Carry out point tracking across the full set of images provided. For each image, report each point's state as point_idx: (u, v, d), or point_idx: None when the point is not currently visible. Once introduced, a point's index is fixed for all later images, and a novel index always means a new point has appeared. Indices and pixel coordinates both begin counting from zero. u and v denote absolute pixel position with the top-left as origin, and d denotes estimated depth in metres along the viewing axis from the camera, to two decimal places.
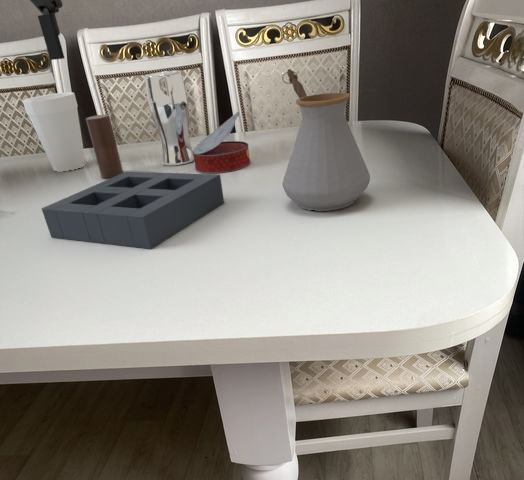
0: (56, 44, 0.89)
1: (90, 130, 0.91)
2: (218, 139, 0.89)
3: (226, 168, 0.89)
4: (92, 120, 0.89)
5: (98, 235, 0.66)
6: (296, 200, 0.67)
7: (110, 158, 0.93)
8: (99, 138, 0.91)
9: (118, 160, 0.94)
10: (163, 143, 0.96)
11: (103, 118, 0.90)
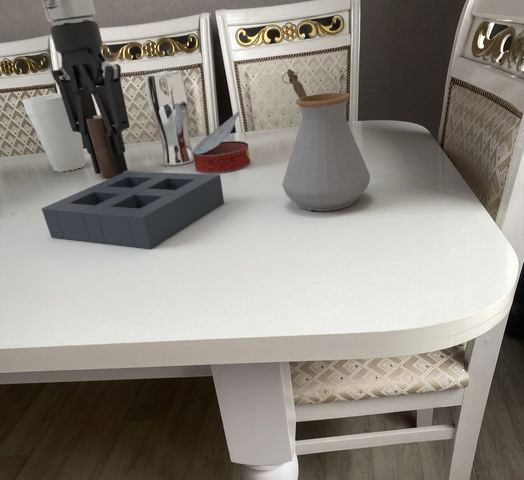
0: None
1: (90, 130, 0.91)
2: (218, 139, 0.89)
3: (226, 168, 0.89)
4: (92, 120, 0.89)
5: (98, 235, 0.66)
6: (296, 200, 0.67)
7: (110, 158, 0.93)
8: (99, 139, 0.91)
9: None
10: (163, 143, 0.96)
11: None
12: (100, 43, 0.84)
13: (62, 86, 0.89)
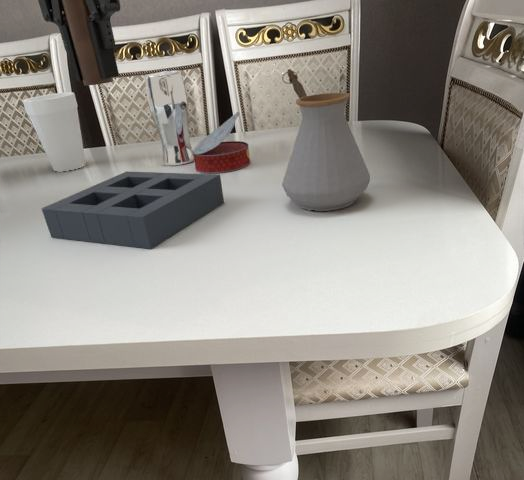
0: None
1: (68, 14, 0.67)
2: (218, 139, 0.89)
3: (226, 168, 0.89)
4: None
5: (98, 235, 0.66)
6: (296, 200, 0.67)
7: None
8: (80, 26, 0.68)
9: None
10: (163, 143, 0.96)
11: None
12: None
13: None
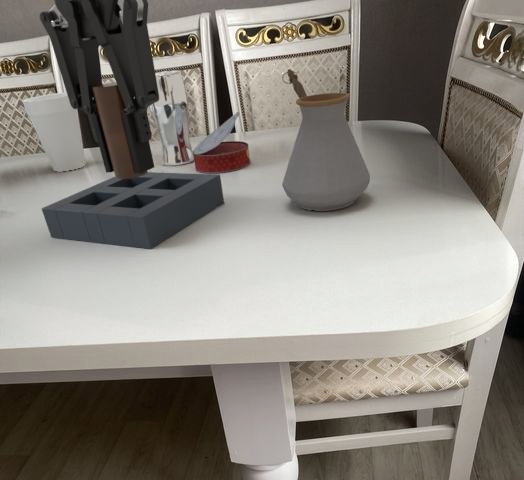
0: None
1: (99, 105, 0.59)
2: (218, 139, 0.89)
3: (226, 168, 0.89)
4: (102, 89, 0.58)
5: (98, 235, 0.66)
6: (296, 200, 0.67)
7: None
8: (112, 118, 0.59)
9: None
10: (163, 143, 0.96)
11: None
12: None
13: (56, 37, 0.58)
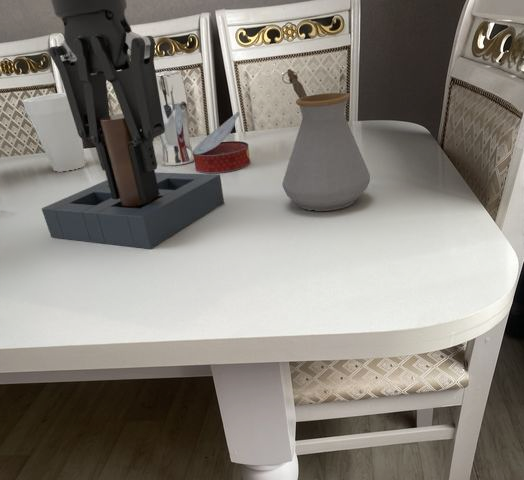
0: None
1: (106, 136, 0.61)
2: (218, 139, 0.89)
3: (226, 168, 0.89)
4: (110, 122, 0.60)
5: (98, 235, 0.66)
6: (296, 200, 0.67)
7: None
8: (119, 149, 0.61)
9: None
10: (163, 143, 0.96)
11: None
12: (124, 3, 0.55)
13: (65, 71, 0.60)
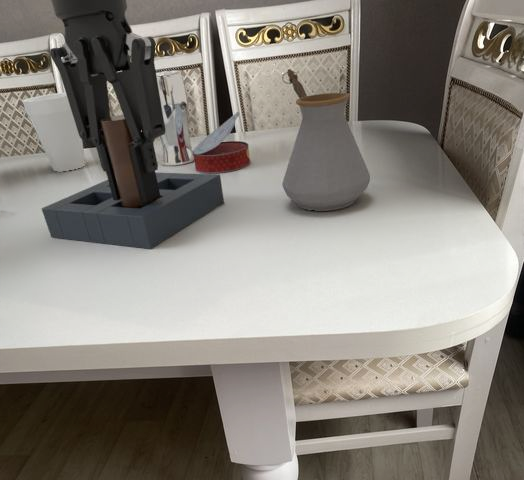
0: None
1: (107, 137, 0.61)
2: (218, 139, 0.89)
3: (226, 168, 0.89)
4: (110, 123, 0.60)
5: (98, 235, 0.66)
6: (296, 200, 0.67)
7: (136, 178, 0.63)
8: (120, 150, 0.61)
9: None
10: (163, 143, 0.96)
11: None
12: (124, 4, 0.55)
13: (65, 72, 0.60)
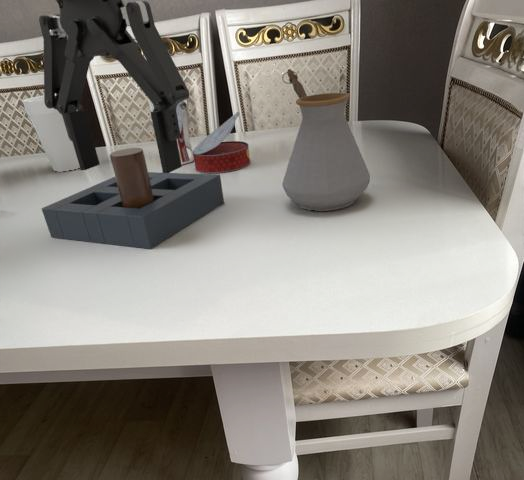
0: None
1: (116, 171, 0.63)
2: (218, 139, 0.89)
3: (226, 168, 0.89)
4: (119, 157, 0.62)
5: (98, 235, 0.66)
6: (296, 200, 0.67)
7: None
8: (128, 183, 0.63)
9: None
10: None
11: (135, 154, 0.62)
12: None
13: (50, 44, 0.59)
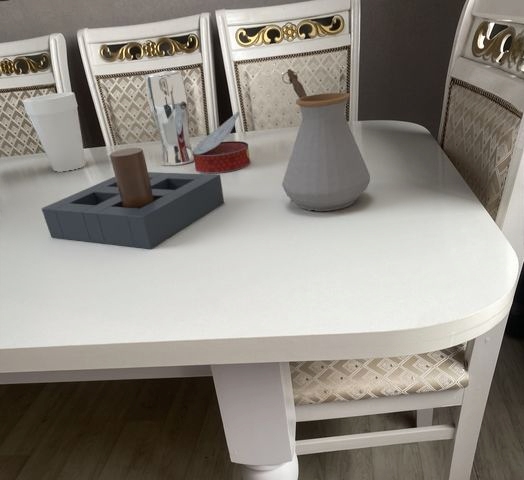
0: None
1: (116, 171, 0.63)
2: (218, 139, 0.89)
3: (226, 168, 0.89)
4: (119, 157, 0.62)
5: (98, 235, 0.66)
6: (296, 200, 0.67)
7: None
8: (128, 183, 0.63)
9: None
10: (163, 143, 0.96)
11: (135, 154, 0.62)
12: None
13: None
